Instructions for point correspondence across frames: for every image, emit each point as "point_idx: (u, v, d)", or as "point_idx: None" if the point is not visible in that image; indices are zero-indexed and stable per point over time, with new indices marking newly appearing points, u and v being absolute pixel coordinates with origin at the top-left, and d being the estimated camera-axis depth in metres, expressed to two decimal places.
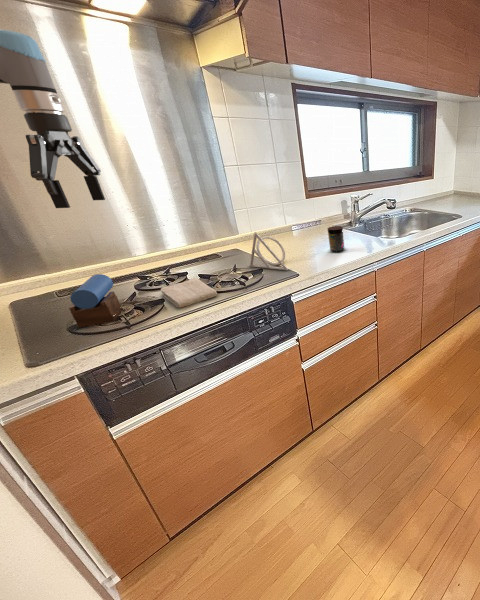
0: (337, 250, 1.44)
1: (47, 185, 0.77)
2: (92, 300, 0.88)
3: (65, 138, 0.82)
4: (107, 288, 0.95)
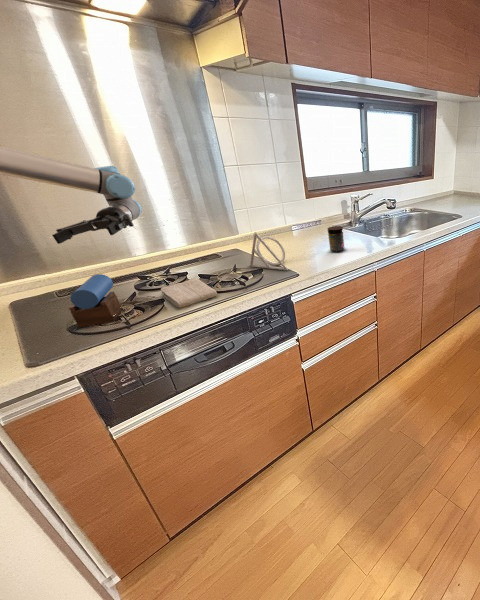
0: (337, 250, 1.44)
1: (122, 224, 1.03)
2: (92, 300, 0.88)
3: None
4: (107, 288, 0.95)
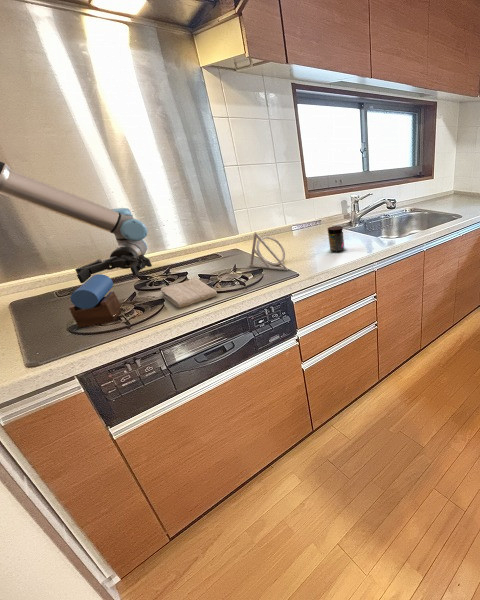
0: (337, 250, 1.44)
1: (142, 265, 1.10)
2: (92, 300, 0.88)
3: None
4: (107, 288, 0.95)
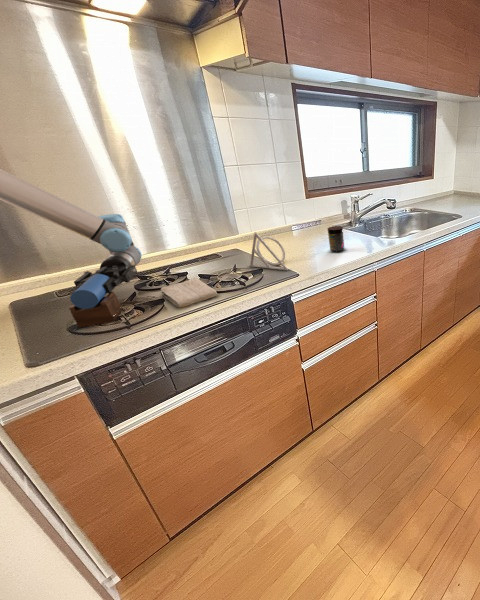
0: (337, 250, 1.44)
1: (118, 281, 0.99)
2: (92, 300, 0.88)
3: None
4: None
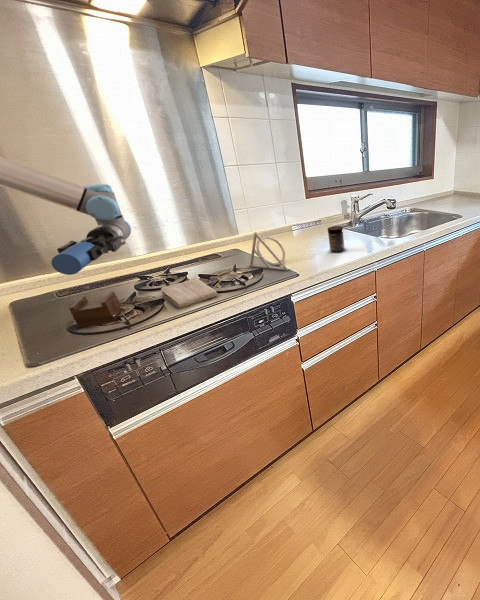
0: (337, 250, 1.44)
1: (104, 249, 0.94)
2: (75, 265, 0.84)
3: None
4: None
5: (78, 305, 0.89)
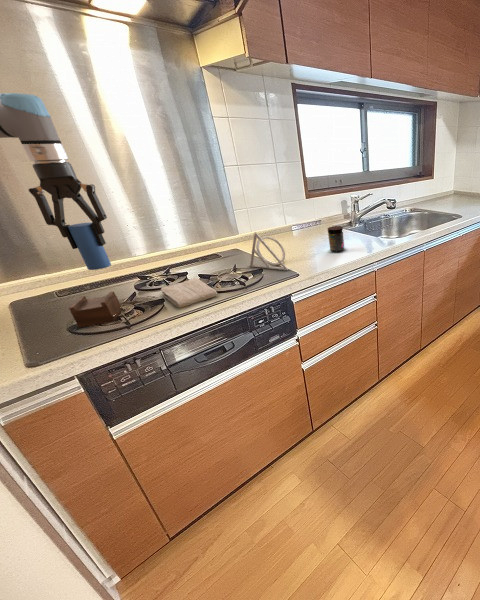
0: (337, 250, 1.44)
1: None
2: None
3: (67, 183, 0.88)
4: None
5: (78, 305, 0.89)
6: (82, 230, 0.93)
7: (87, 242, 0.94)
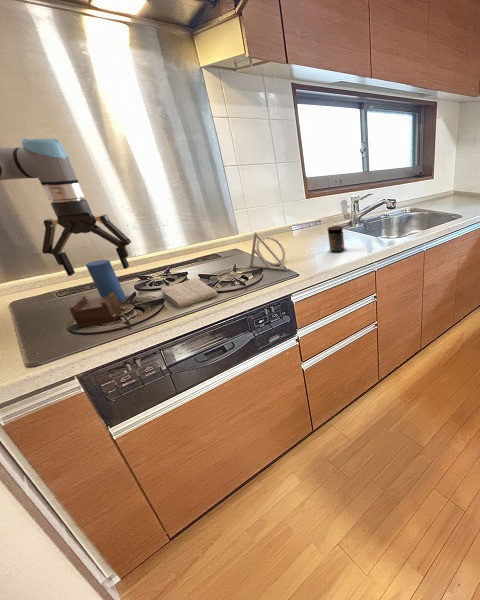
0: (337, 250, 1.44)
1: None
2: None
3: (82, 219, 0.93)
4: (93, 279, 1.00)
5: (78, 305, 0.89)
6: (100, 268, 0.98)
7: (104, 279, 0.99)
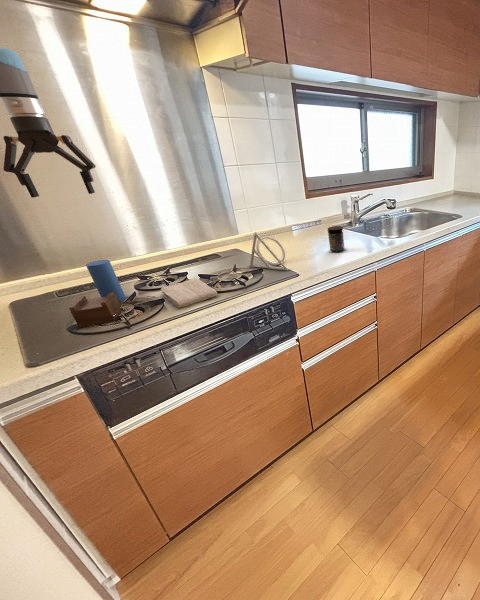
0: (337, 250, 1.44)
1: None
2: None
3: (44, 137, 0.93)
4: (93, 279, 1.00)
5: (78, 305, 0.89)
6: (100, 268, 0.98)
7: (104, 279, 0.99)
